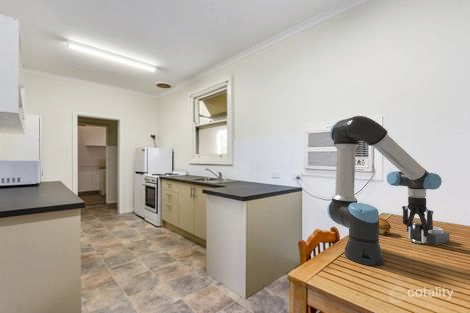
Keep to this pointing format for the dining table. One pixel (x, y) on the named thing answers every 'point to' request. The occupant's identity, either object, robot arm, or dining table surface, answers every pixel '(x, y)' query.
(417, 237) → the lens
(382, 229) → the orange brown stemmed fruit
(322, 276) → the dining table surface
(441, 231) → the block
